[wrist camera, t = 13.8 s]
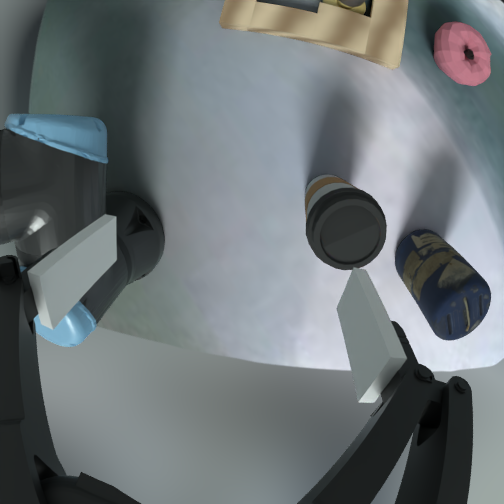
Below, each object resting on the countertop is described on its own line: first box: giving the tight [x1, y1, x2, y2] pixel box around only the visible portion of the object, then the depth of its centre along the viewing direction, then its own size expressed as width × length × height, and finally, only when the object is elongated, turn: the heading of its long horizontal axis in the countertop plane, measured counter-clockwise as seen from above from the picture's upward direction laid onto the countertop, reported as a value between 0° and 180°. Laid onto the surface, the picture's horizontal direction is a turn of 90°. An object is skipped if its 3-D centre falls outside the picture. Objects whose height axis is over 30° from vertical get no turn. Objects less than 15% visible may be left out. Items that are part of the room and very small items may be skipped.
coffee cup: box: [305, 174, 387, 270], centre depth 33 cm, size 8×8×15 cm
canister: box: [395, 230, 491, 340], centre depth 34 cm, size 10×10×18 cm
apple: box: [434, 22, 491, 86], centre depth 23 cm, size 10×9×10 cm
